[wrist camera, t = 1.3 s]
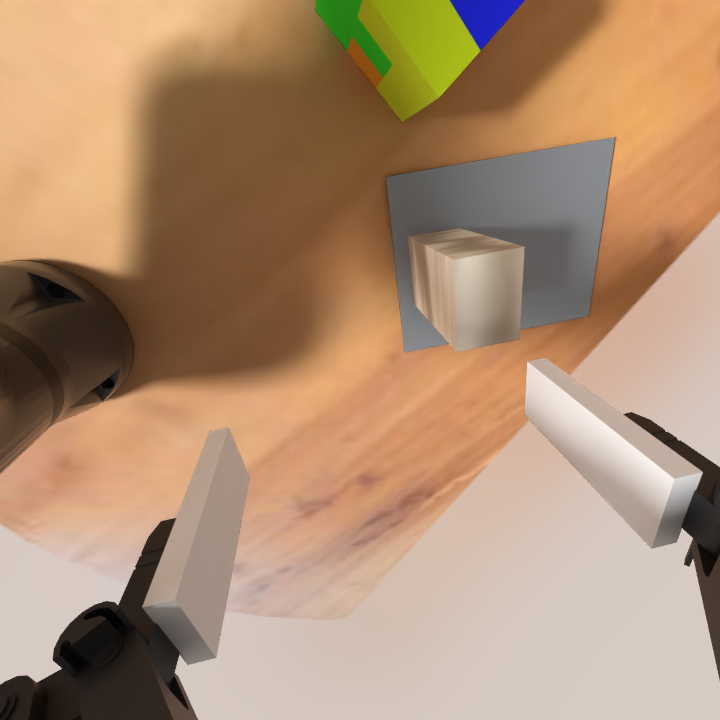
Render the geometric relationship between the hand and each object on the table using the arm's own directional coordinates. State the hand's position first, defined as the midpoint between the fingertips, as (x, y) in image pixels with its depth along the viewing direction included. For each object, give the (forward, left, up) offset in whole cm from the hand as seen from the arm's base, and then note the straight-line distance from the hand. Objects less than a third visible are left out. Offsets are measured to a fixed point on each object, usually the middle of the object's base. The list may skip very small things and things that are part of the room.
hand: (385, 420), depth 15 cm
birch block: (+10, 0, -24) cm, 26 cm away
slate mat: (+17, 0, -24) cm, 30 cm away
